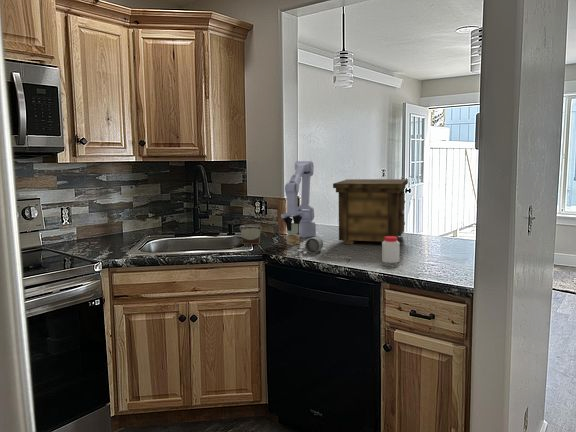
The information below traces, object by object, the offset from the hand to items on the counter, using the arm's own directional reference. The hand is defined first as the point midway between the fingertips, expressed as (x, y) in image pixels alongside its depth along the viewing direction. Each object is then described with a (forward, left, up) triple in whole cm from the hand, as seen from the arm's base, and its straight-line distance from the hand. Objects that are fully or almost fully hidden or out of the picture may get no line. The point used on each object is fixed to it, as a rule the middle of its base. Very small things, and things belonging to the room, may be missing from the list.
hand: (292, 230), depth 260 cm
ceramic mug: (+6, +23, -8) cm, 25 cm away
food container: (+15, -18, -8) cm, 25 cm away
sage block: (0, 0, -2) cm, 2 cm away
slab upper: (0, 0, -6) cm, 6 cm away
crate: (-38, +22, -8) cm, 45 cm away
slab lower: (0, 0, -8) cm, 8 cm away
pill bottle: (-8, +62, -8) cm, 63 cm away
